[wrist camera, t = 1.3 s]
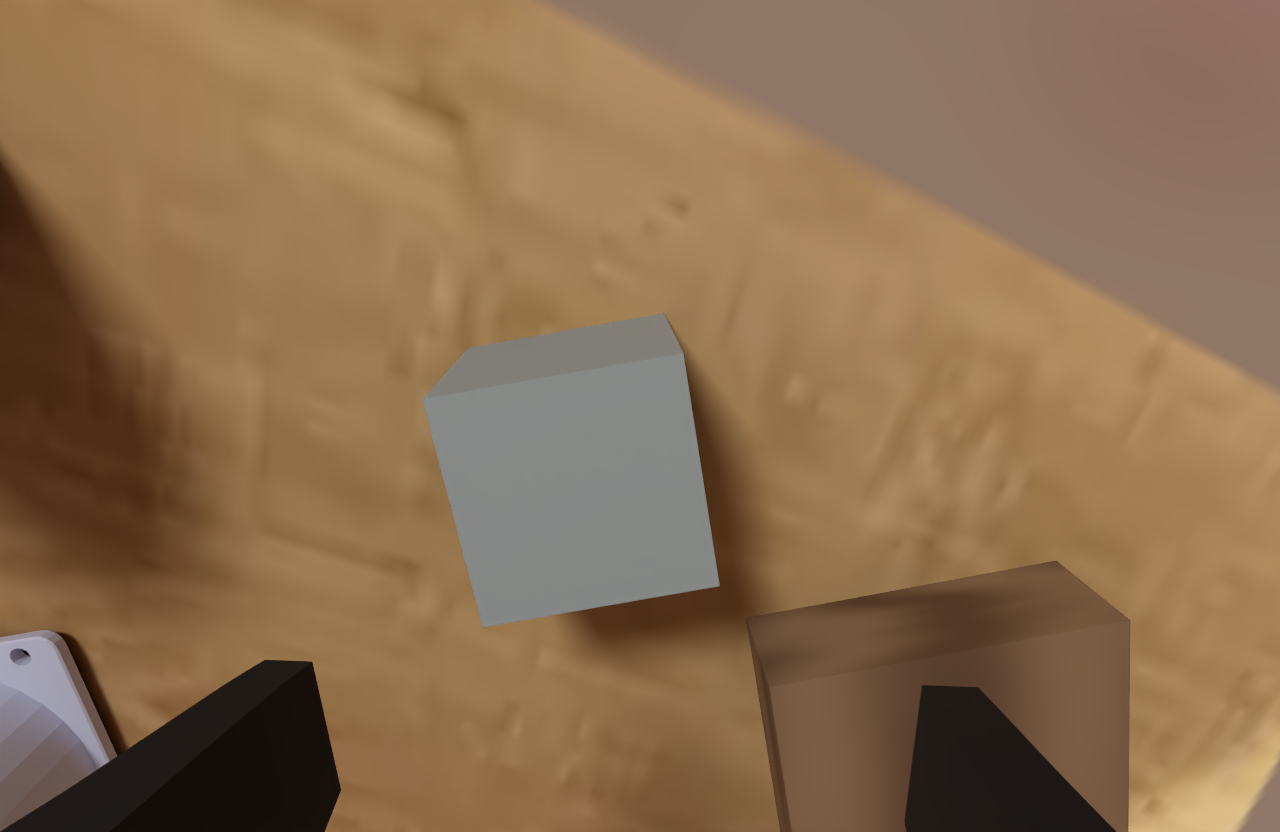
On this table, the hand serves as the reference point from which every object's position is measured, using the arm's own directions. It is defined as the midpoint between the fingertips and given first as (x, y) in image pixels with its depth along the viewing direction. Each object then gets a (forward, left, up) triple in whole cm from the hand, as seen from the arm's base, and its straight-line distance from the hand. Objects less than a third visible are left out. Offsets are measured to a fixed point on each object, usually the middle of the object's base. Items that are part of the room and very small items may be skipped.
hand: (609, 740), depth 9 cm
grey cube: (-1, +1, -11) cm, 11 cm away
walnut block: (+8, -10, -12) cm, 17 cm away
